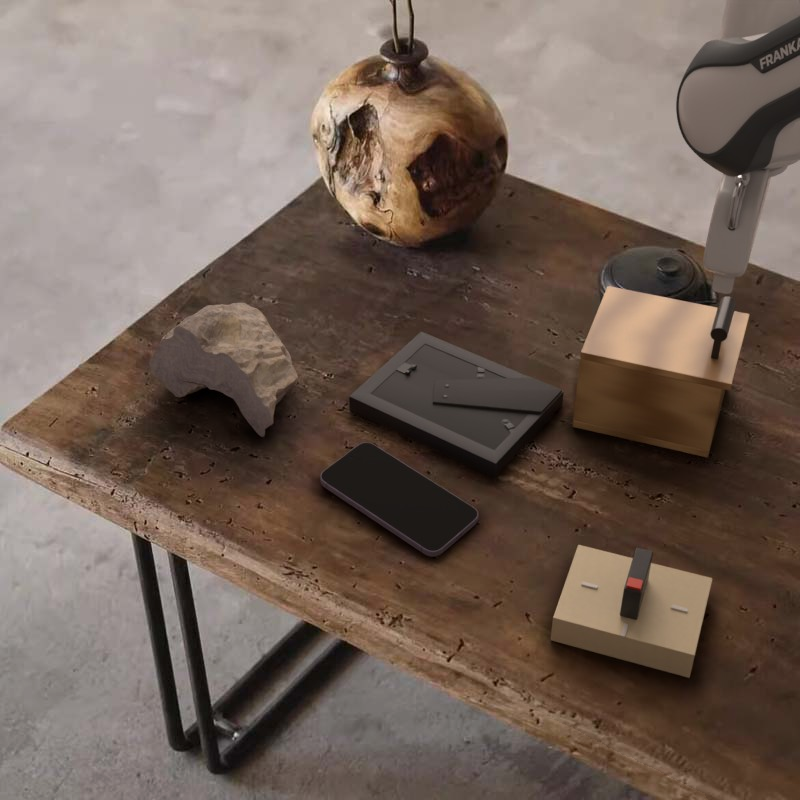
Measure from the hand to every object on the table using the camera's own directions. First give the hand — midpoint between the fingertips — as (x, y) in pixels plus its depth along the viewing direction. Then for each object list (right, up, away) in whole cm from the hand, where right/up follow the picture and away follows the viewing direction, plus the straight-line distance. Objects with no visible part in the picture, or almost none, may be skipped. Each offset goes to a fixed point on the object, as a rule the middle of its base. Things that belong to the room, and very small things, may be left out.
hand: (730, 260), depth 121 cm
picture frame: (-24, -14, +16) cm, 32 cm away
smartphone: (-30, -23, +6) cm, 38 cm away
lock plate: (-10, -32, -6) cm, 34 cm away
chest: (-4, -14, +16) cm, 22 cm away
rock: (-46, -12, +19) cm, 51 cm away
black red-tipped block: (-10, -30, -8) cm, 32 cm away
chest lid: (-4, -7, +10) cm, 13 cm away
